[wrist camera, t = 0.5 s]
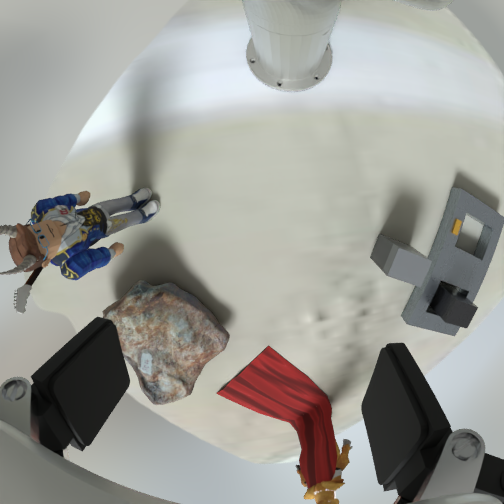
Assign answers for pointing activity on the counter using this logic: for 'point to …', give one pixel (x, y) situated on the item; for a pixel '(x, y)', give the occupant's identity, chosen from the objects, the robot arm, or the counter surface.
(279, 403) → the figurine
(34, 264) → the figurine
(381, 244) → the plug
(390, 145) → the counter surface
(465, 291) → the power strip
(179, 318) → the stone
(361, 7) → the counter surface
